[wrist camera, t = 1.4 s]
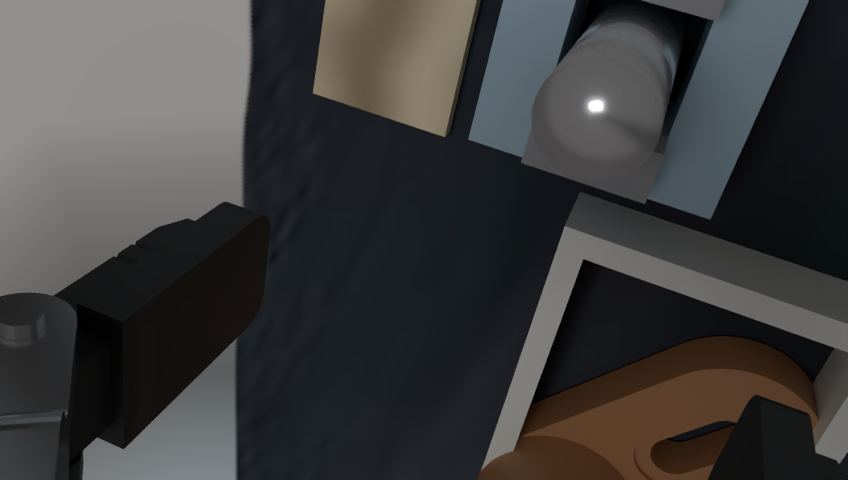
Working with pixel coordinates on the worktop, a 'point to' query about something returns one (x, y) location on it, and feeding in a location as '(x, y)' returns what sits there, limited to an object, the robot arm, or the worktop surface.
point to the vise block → (687, 116)
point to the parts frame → (695, 277)
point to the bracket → (652, 414)
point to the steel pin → (610, 92)
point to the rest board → (397, 57)
